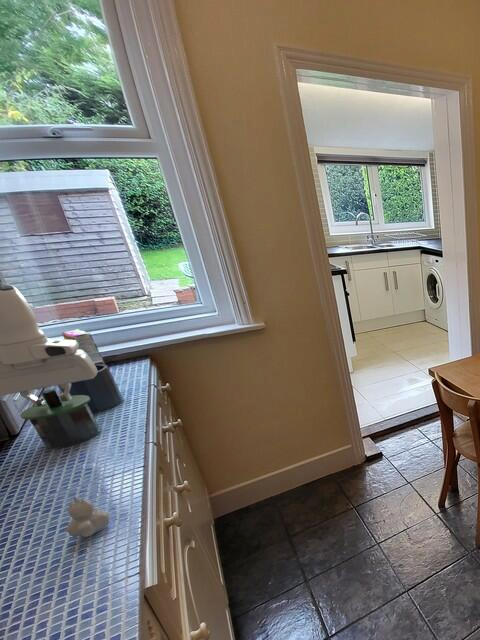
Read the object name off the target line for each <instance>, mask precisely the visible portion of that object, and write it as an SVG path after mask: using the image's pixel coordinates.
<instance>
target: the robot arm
mask: <svg viewBox="0 0 480 640" xmlns="http://www.w3.org/2000/svg"><path fill="white" fill-rule="evenodd" d="M78 348H79V344H78V342H77V341H75V340H65V339H62V338H51V337H50V338H49V337H47V335H46V333H45V332H44V331H43V330H42V329H41V328H40V327H39V325H38V322H37V316H36V315H35V312H34V310H33V308H32V307H31V305H30V304H29V302H28V301H27V299H26V298H25V297H24V295H23V294H22V293H21V291H20V290H19V289H18V288H17V287H15V286H14V285H12V284H9V283H7V282H0V397H2V396H8V395H14V394H20V396H21V397H22V398H24V399H26V400H28V401H30V402H31V403H32V404H33V406H35V407H39V406H43V405H45V404H46V401H45V399H44V397H43V396H41V397H38V396H36V395H34V394H33V391H34V390H40V389H45V388H50V387H51V388H52V387H56V386H58V385H60V387H61V388H62V389H63V388H65V390H64V393H62V392H61V393H60V394H59V395H58V396H59V398H61V400H62V402H63V401H68V400H71V399H72V397H71V395H70V393H69V391H70V388H71V383H72V382H78V381H83V380H88V379H93V378H94V377H95V376H96V375H97V373H98V370H97V368H96V366H95V364H94V363H93V361H92V360H91V358H90V357H89V356H88V354H87V353H86V352H84V351H82V350H79V349H78Z"/></svg>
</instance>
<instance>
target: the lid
mask: <svg viewBox="0 0 480 640" xmlns="http://www.w3.org/2000/svg"><path fill="white" fill-rule="evenodd" d="M41 396H42V397H43V399H44V401H45V402H46V404H45V405H43V406H39V407H35V405H33V406H31V407H27V408H26V409H24V410H22V411H21V413H20V418H21V419H23V420H28V421H30V420H32V419H41V418H47V417H52V416H56V415H60V414H63V413H66V412H69V411H72V410H75V409H77V408H79V407H81V406H83V405H85V404H87V403H88V402H89V401H90V398H89V396H86V395H74V396H71V397H72V399H71V400H68V401H63V402H62V400H61V398H60V397H59V395H58V393H57V391H56V389H47V390H43V391H42V392H41Z"/></svg>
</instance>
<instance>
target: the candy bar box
mask: <svg viewBox="0 0 480 640" xmlns="http://www.w3.org/2000/svg"><path fill="white" fill-rule="evenodd" d="M61 335H62V337H63V338H64V340H75V341H77V342H78V344H79V348H78V349H79V350H82V351H84V352H86V353H87V354H88V356H89V357H90V358H91V360H92V361H93V362H96V361H100V360H101V361H104V364H105V365H106V363H105V359H104V358H103V356H102V355H101V353H100V351H99V348H98V346H97V344H96V343H95V341H94V339H93V336H92V334H91V333H90V332H87V331H84V330H83V329H72V330H68V331H63V332H61ZM106 366H107V365H106Z"/></svg>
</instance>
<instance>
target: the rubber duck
mask: <svg viewBox="0 0 480 640" xmlns="http://www.w3.org/2000/svg"><path fill="white" fill-rule="evenodd" d="M67 513H68V515H69V516H70V518H71V520H70V521H69V522H68V523H67V525H66V533H68V535H69V536H72V537H73V538H75V537H82V538H87V537H91V536H93V535H94V534H96V533H98V532H100V531H102V530H103V529H105V528H106V526H108V525H109V523H110V514H109V513H108V512H107V511H106V510H102V509H100V508H95V506H94V504H93V503H92V502H91V501H90V500H86V499H84V498H80V500H79V498H78V497H76V496H75V495H73V502H69V504H68V509H67Z"/></svg>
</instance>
